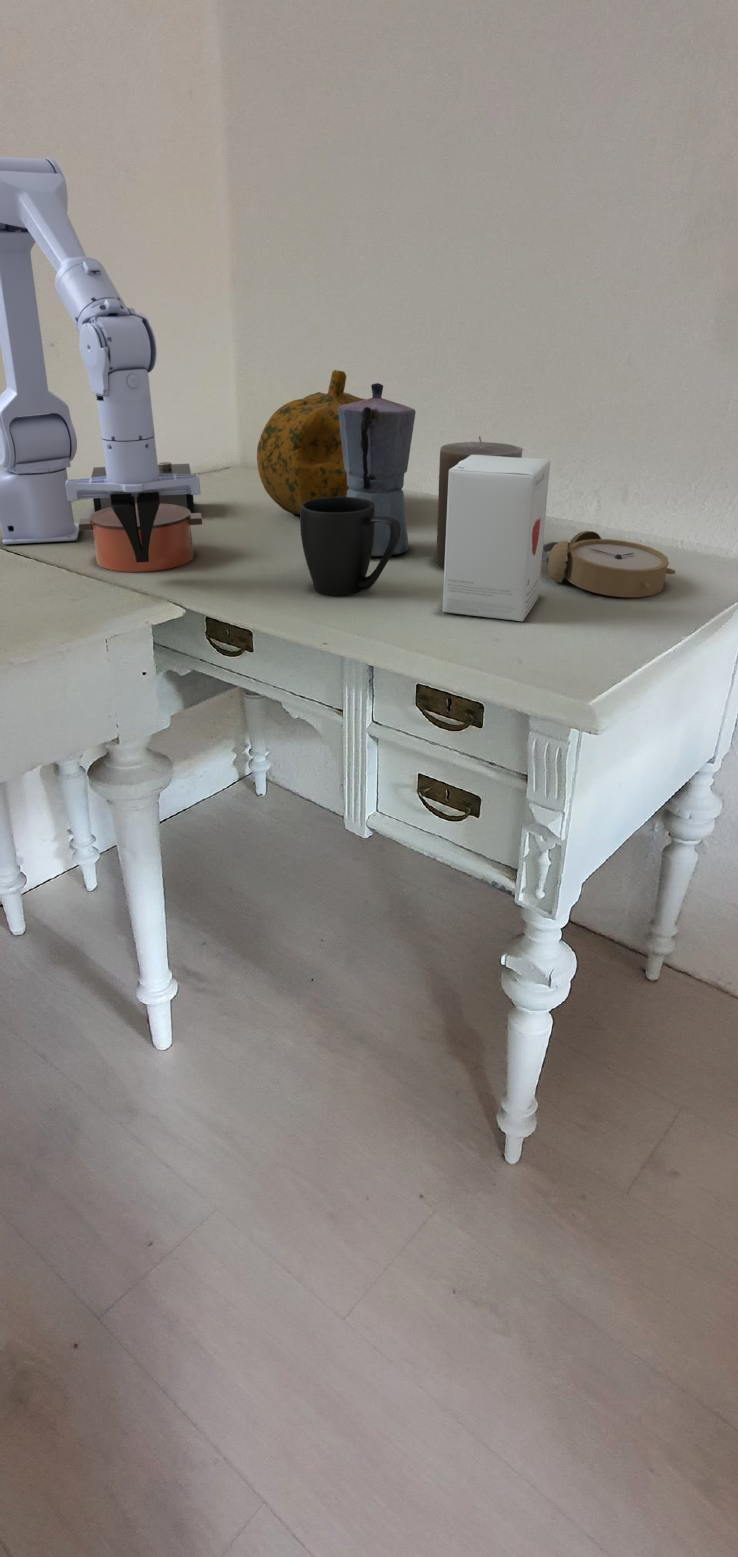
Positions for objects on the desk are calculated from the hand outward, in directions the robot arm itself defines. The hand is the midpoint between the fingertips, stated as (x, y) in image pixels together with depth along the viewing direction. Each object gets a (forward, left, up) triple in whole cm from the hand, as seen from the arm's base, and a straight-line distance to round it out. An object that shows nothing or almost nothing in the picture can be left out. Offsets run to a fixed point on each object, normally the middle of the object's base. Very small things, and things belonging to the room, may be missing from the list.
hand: (142, 559), depth 112 cm
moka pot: (+29, +7, -3) cm, 30 cm away
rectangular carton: (+37, -17, -3) cm, 41 cm away
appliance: (0, +35, -2) cm, 35 cm away
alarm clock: (+52, -11, -3) cm, 53 cm away
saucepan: (0, +10, -2) cm, 10 cm away
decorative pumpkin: (+27, +29, -3) cm, 40 cm away
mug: (+23, -9, -3) cm, 25 cm away
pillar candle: (+40, -1, -3) cm, 40 cm away
